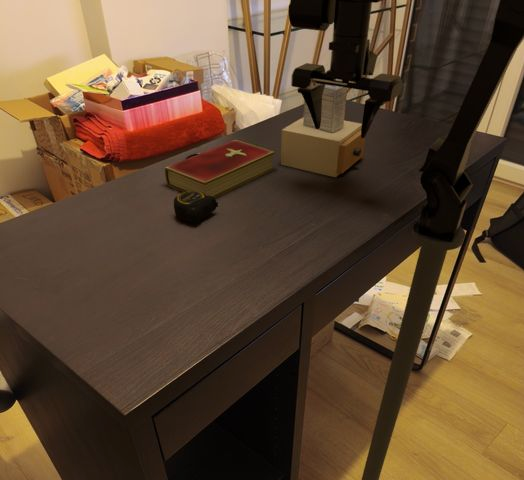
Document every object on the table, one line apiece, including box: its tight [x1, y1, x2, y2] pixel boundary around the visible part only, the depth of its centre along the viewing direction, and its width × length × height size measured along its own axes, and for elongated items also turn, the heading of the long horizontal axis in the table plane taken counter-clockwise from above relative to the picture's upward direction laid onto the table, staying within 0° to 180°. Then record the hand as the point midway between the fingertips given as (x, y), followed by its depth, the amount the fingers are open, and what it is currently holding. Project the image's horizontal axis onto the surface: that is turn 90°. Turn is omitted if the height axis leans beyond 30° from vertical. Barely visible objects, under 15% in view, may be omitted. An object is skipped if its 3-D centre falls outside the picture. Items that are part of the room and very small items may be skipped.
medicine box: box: [303, 84, 348, 132], centre depth 101 cm, size 8×4×9 cm, turn 49°
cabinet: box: [280, 116, 362, 178], centre depth 107 cm, size 14×13×8 cm
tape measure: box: [173, 191, 219, 223], centre depth 89 cm, size 7×7×4 cm
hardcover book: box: [164, 139, 276, 199], centre depth 102 cm, size 12×21×4 cm, turn 139°
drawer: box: [337, 130, 367, 174], centre depth 106 cm, size 14×11×6 cm
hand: (340, 133), depth 89 cm, fingers open, 9 cm apart
